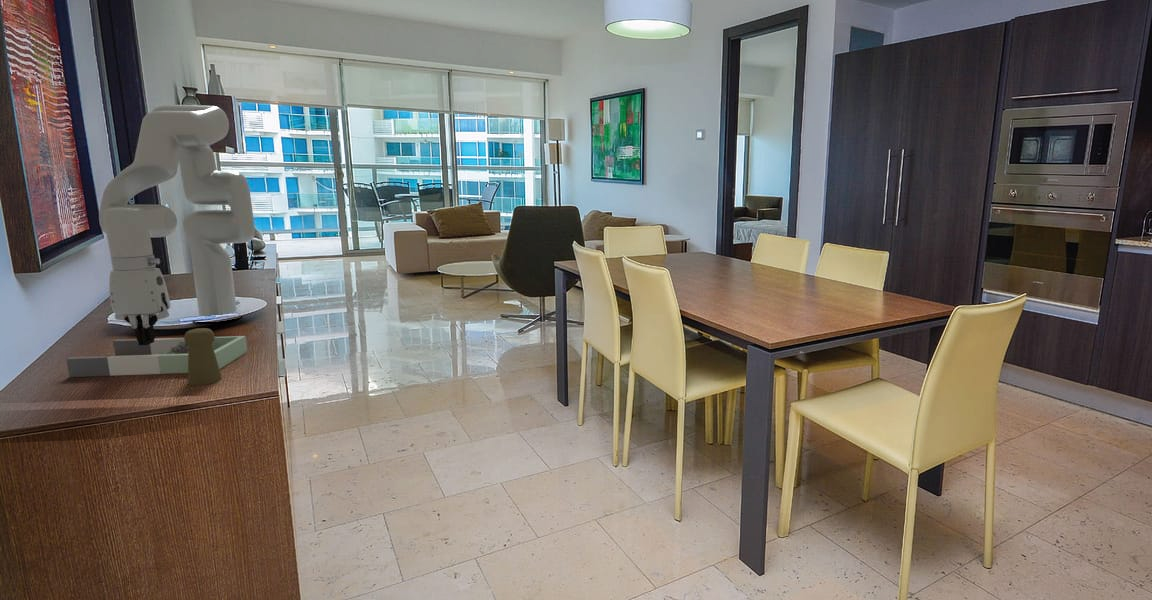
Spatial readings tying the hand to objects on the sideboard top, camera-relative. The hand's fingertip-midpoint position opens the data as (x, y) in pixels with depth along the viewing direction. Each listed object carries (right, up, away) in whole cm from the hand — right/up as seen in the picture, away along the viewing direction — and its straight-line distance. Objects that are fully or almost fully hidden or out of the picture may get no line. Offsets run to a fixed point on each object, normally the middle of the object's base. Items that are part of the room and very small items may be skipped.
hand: (146, 343), depth 132 cm
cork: (+21, -7, -11) cm, 25 cm away
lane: (+3, -5, 0) cm, 6 cm away
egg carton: (+12, -5, +2) cm, 13 cm away
